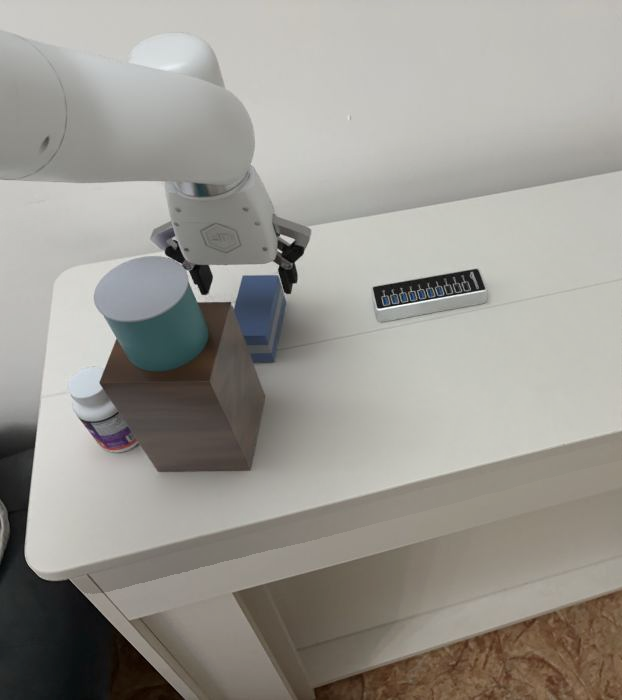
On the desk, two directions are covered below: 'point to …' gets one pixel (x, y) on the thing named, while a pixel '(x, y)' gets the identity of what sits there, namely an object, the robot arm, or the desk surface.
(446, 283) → the multiport hub
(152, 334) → the yogurt pot
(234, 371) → the walnut crate
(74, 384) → the pill bottle
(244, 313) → the block
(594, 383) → the desk surface
